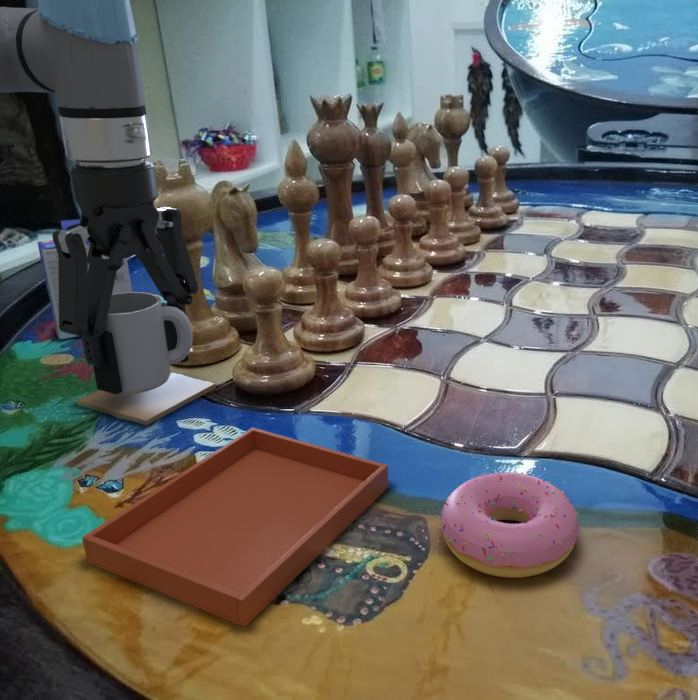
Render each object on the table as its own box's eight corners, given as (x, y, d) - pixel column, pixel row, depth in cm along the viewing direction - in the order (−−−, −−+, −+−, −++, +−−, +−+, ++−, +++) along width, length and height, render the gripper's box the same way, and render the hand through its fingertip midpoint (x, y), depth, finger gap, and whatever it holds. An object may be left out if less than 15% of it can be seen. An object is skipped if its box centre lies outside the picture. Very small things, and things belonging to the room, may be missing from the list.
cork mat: (77, 405, 78) (76, 400, 78) (150, 371, 87) (149, 366, 86) (146, 425, 74) (145, 420, 74) (216, 388, 83) (215, 383, 83)
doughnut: (602, 571, 56) (608, 525, 54) (466, 603, 52) (467, 555, 50) (541, 493, 65) (544, 452, 63) (422, 515, 61) (422, 473, 60)
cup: (96, 374, 81) (82, 297, 77) (191, 358, 85) (181, 285, 82) (102, 400, 75) (87, 319, 72) (203, 382, 80) (194, 304, 76)
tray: (86, 562, 55) (81, 537, 54) (254, 447, 71) (252, 427, 70) (245, 627, 49) (242, 600, 48) (388, 487, 65) (388, 464, 64)
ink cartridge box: (131, 315, 104) (115, 213, 98) (140, 327, 100) (124, 222, 94) (53, 328, 98) (31, 221, 93) (59, 341, 94) (36, 230, 89)
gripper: (37, 181, 60) (85, 423, 69) (219, 152, 78) (239, 347, 87) (-23, 172, 63) (31, 406, 72) (166, 146, 81) (191, 336, 90)
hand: (145, 373), depth 80 cm, fingers closed on cup, 9 cm apart
